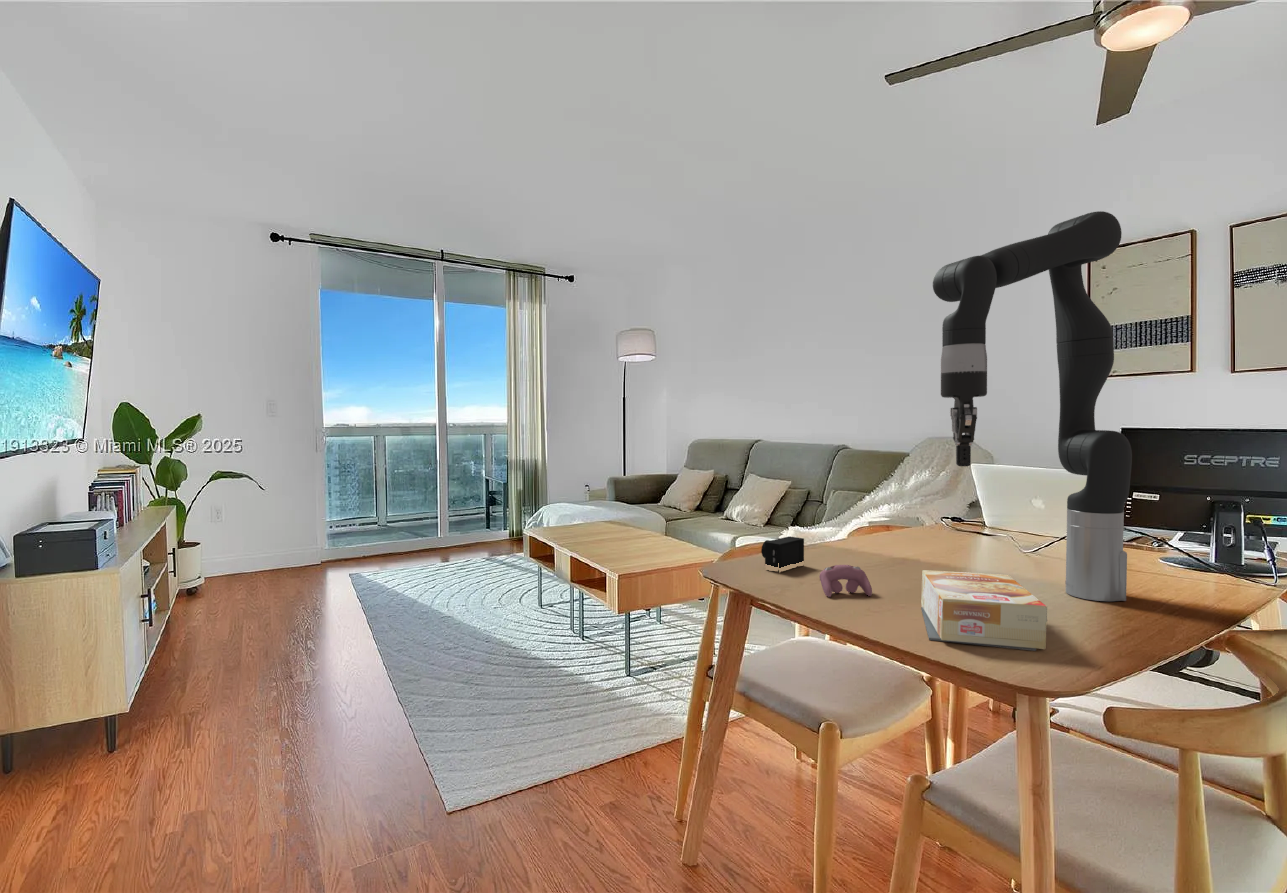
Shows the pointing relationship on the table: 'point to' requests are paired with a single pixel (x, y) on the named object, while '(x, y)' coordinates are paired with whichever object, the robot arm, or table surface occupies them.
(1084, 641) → the table surface
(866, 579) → the video game controller
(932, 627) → the mat
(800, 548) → the digital camera
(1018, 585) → the coffeecake box
